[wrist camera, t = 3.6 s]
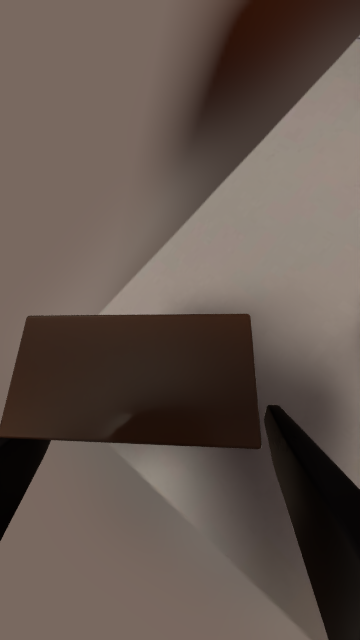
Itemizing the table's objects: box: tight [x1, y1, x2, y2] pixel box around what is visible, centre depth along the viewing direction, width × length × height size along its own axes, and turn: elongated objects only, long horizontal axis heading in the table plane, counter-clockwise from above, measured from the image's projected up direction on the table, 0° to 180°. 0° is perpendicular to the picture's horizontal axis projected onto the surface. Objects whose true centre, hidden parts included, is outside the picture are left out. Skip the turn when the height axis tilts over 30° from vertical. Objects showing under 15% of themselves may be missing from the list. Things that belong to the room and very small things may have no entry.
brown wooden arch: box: [0, 314, 262, 449], centre depth 11 cm, size 3×6×13 cm, turn 89°
